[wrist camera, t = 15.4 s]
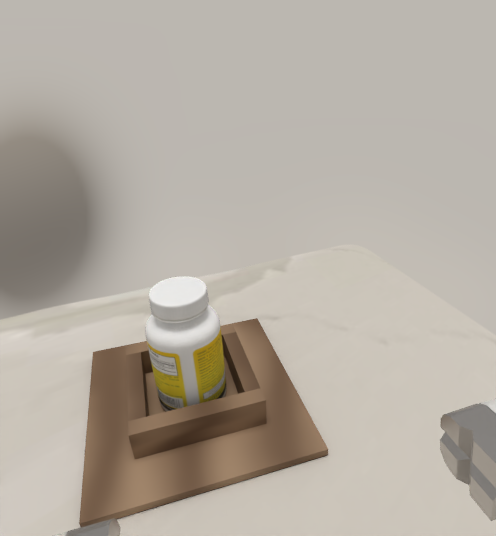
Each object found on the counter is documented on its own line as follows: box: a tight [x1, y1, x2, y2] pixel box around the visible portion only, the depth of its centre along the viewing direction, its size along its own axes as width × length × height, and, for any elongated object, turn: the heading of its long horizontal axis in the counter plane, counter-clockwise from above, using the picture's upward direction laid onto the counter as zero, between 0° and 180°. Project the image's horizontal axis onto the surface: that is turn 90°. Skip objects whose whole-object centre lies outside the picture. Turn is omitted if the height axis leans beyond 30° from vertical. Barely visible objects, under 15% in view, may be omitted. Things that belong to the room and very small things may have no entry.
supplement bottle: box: [145, 276, 226, 412], centre depth 29 cm, size 5×5×10 cm
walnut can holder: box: [79, 319, 328, 527], centre depth 31 cm, size 16×16×3 cm
